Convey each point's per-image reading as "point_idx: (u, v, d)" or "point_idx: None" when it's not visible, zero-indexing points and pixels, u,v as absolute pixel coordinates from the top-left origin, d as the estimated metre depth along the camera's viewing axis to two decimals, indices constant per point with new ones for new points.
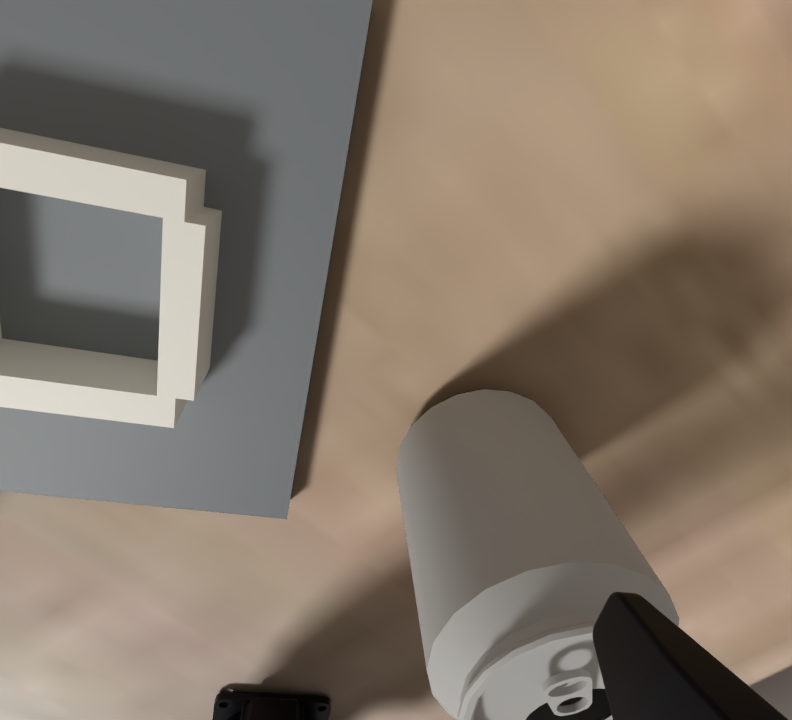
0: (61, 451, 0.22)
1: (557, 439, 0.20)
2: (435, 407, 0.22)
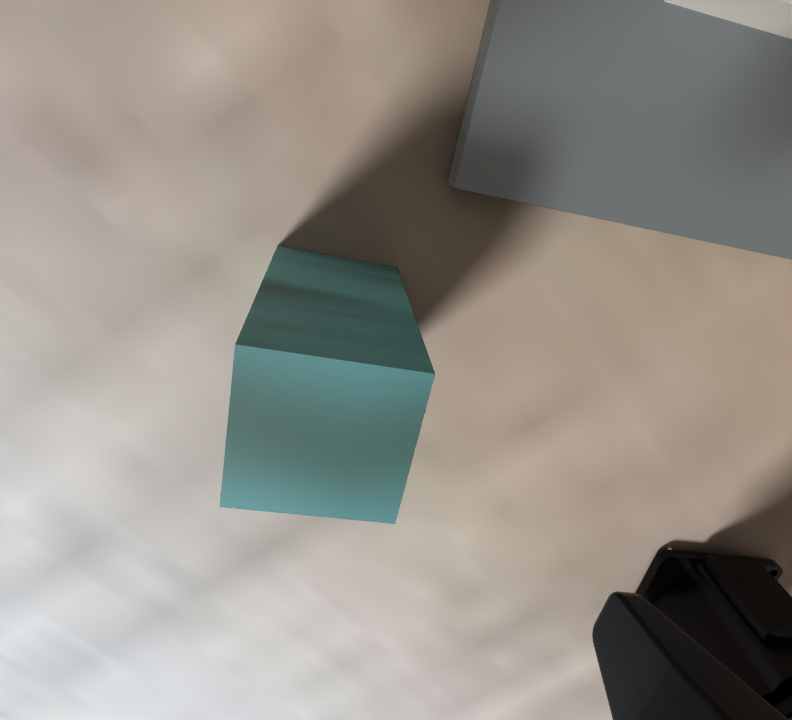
0: (687, 155, 0.16)
1: None
2: None
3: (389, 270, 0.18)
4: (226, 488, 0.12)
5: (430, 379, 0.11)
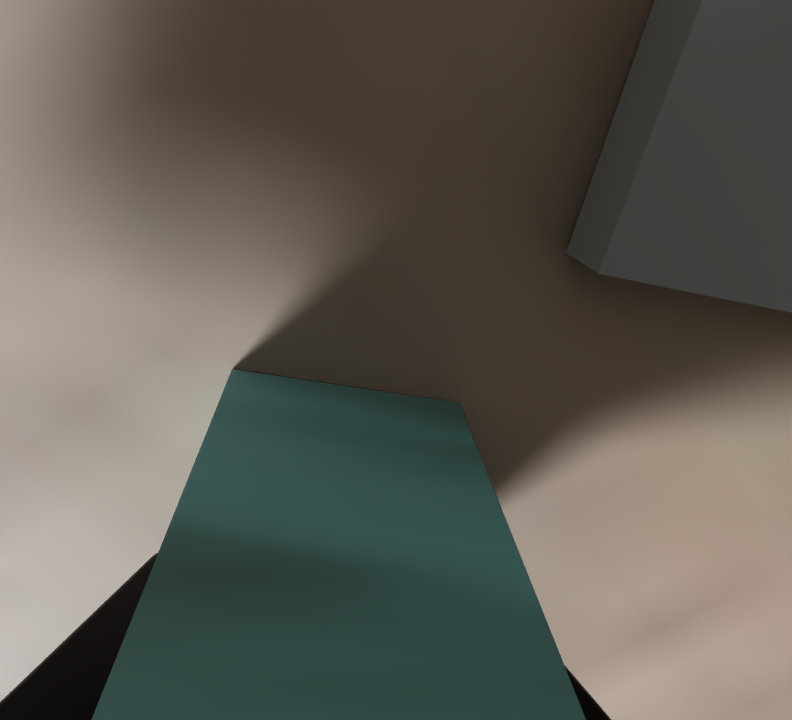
0: None
1: None
2: None
3: (448, 417, 0.09)
4: None
5: None
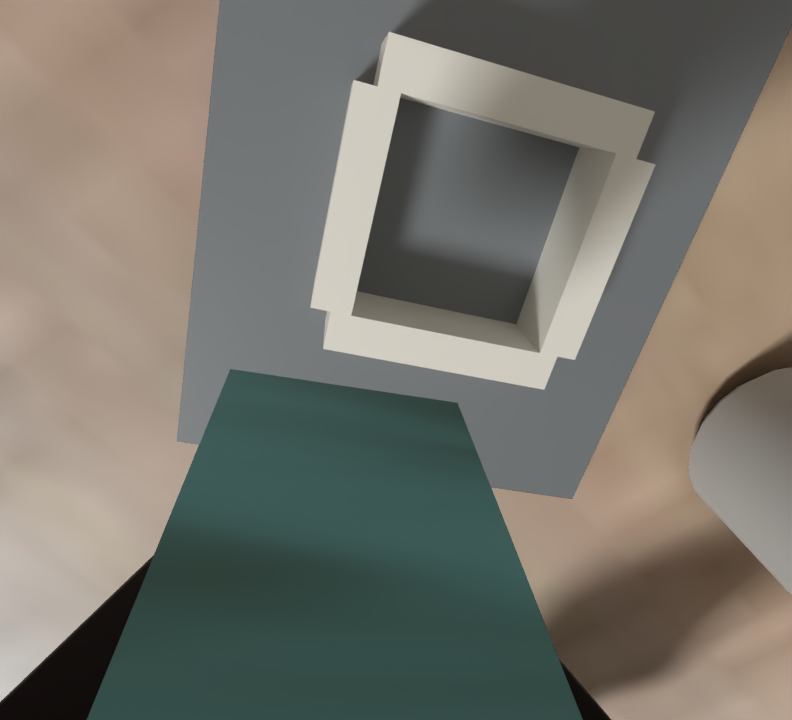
0: None
1: None
2: (753, 382, 0.21)
3: (446, 416, 0.09)
4: None
5: None
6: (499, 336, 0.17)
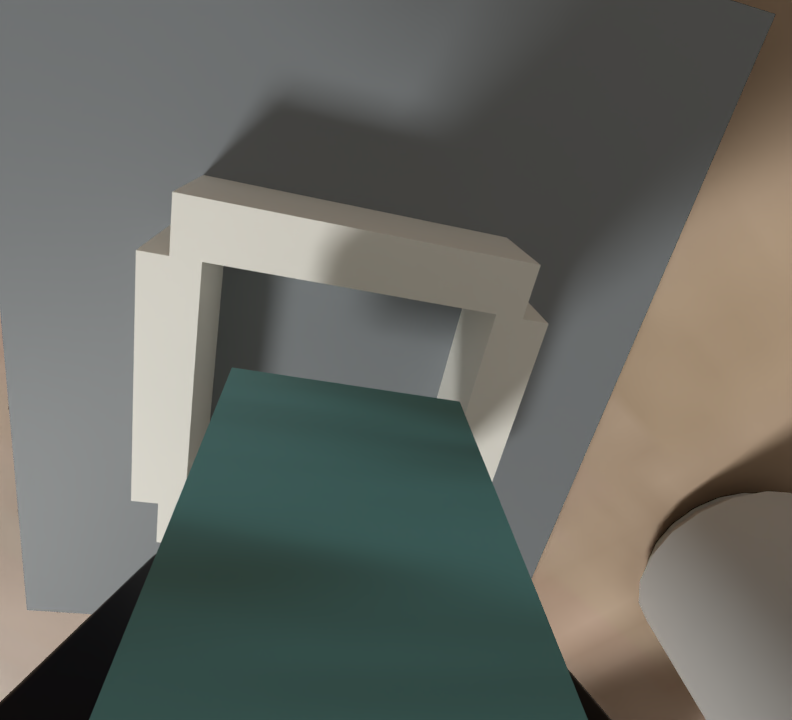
0: None
1: None
2: (707, 513, 0.18)
3: (448, 415, 0.09)
4: None
5: None
6: None
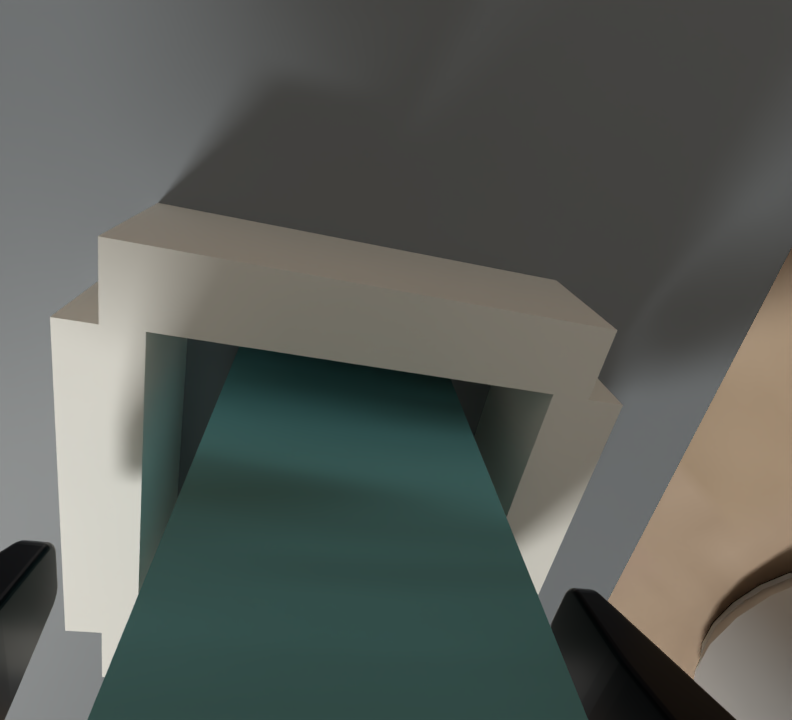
0: None
1: None
2: (781, 597, 0.15)
3: (435, 379, 0.10)
4: None
5: None
6: None
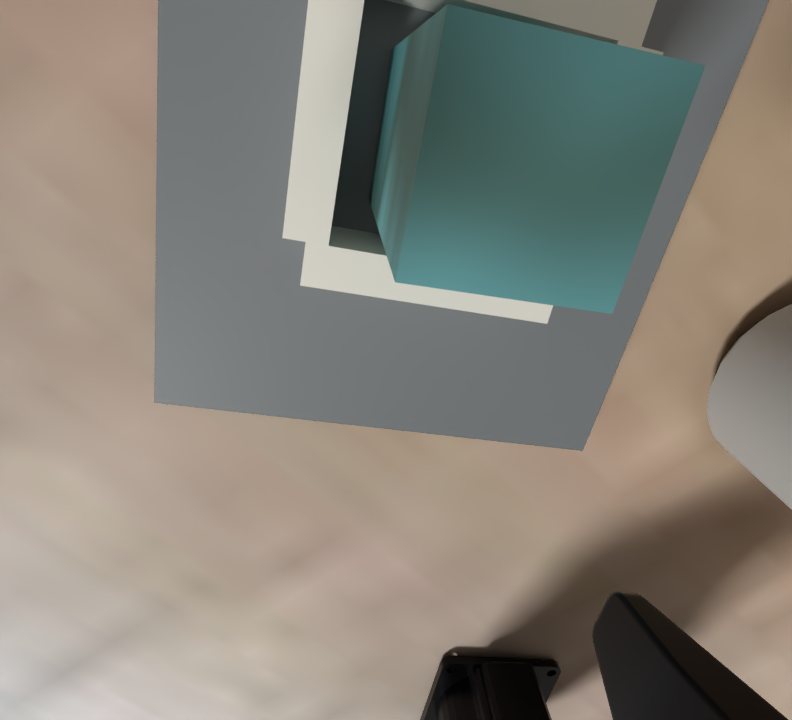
0: (361, 368, 0.19)
1: None
2: (775, 314, 0.20)
3: None
4: (406, 253, 0.09)
5: (698, 74, 0.08)
6: None
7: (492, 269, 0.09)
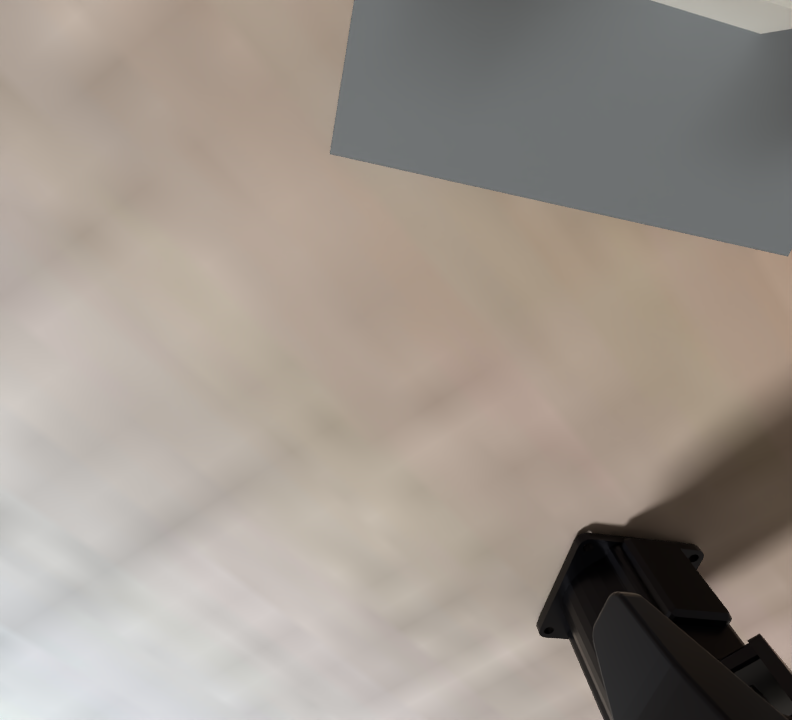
0: (568, 123, 0.16)
1: None
2: None
3: None
4: None
5: None
6: None
7: None
